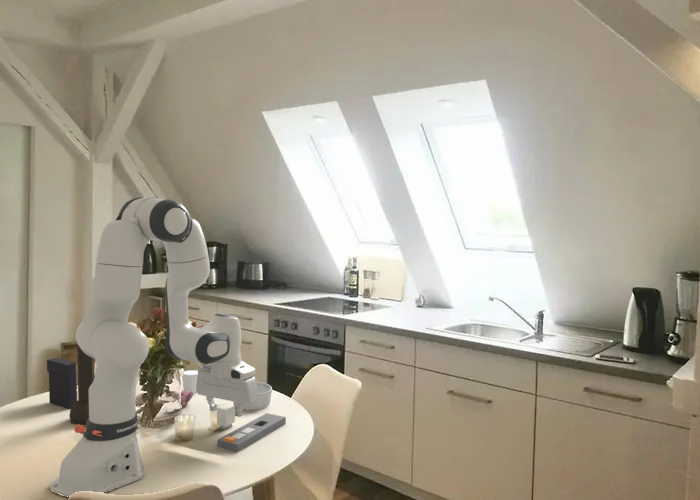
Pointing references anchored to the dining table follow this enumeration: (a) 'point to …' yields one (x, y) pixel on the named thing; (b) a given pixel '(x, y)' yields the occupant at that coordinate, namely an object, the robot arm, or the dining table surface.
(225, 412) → the charger
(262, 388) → the ramekin
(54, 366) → the dark blue lidded box
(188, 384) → the white cup
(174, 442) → the dining table surface
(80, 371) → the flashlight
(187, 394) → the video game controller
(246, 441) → the power strip
